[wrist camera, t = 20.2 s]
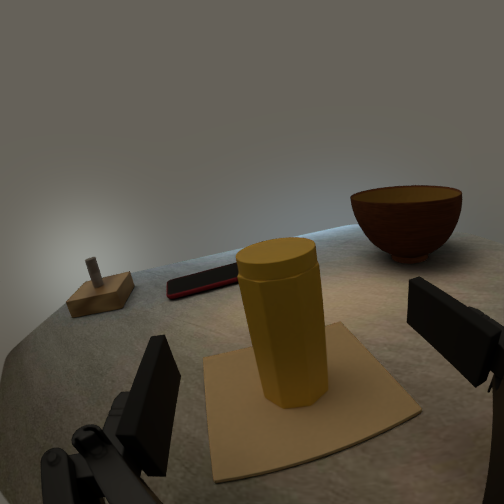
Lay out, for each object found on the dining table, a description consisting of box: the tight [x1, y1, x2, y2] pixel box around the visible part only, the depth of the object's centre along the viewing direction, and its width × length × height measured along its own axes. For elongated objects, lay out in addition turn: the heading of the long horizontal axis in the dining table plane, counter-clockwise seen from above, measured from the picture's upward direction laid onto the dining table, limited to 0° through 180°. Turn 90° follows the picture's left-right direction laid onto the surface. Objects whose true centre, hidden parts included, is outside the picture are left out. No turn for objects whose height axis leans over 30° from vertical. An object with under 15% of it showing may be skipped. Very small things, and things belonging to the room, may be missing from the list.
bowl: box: [350, 185, 462, 264], centre depth 39 cm, size 18×18×10 cm
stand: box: [66, 257, 134, 318], centre depth 45 cm, size 10×10×8 cm
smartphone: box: [167, 262, 239, 299], centre depth 47 cm, size 7×1×15 cm
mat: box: [203, 322, 422, 483], centre depth 21 cm, size 14×14×1 cm
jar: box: [236, 237, 328, 409], centre depth 19 cm, size 5×5×11 cm
